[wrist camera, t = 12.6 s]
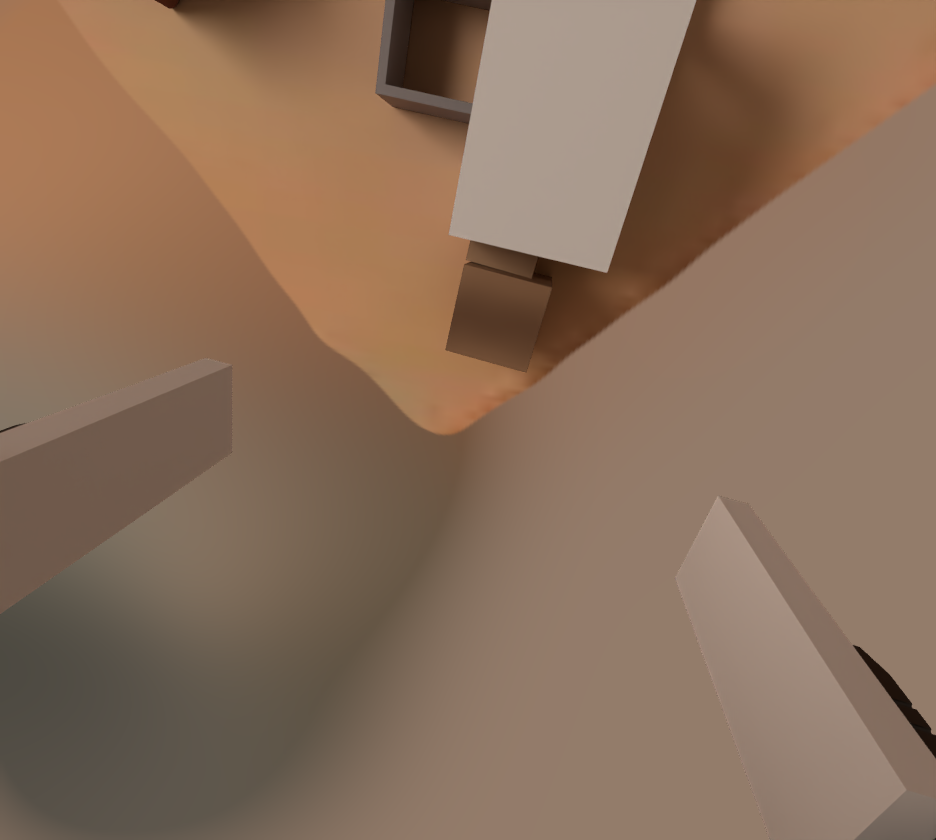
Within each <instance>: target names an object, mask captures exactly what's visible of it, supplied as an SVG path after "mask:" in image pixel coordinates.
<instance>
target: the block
mask: <svg viewBox="0 0 936 840" xmlns="http://www.w3.org/2000/svg"><path fill="white" fill-rule="evenodd" d="M551 290H552V278H551V277H547V276H544V275H540V274H536V273H534V274H533V276H532V279H530V278H527V277H523V276H520V275H516V274H513V273H509V272H506V271H502V270H499V269H495V268H492V267H488V266H485V265H481V264H478V263H474V262H469V263H467V264H464V268H463V273H462V277H461V282H460V286H459V291H458V295H457V300H456V304H455V309H454V313H453V318H452V322H451V327H450V331H449V336H448V340H447V345H446V349H445V350H447V351H450V352H454V353H458V354H461V355H465V356H468V357H472V358H476V359H479V360H483V361H486V362H490V363H493V364H497V365H501V366H504V367H508V368H511V369H515V370H519V371H522V372H527V369H528V366H529V362H530V359H531V356H532V353H533V349H534V346H535V343H536V339H537V336H538V333H539V330H540V326H541V323H542V320H543V316H544V313H545V310H546V306H547V303H548V300H549V297H550V293H551Z"/></svg>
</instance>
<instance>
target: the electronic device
mask: <svg viewBox="0 0 936 840" xmlns="http://www.w3.org/2000/svg"><path fill="white" fill-rule="evenodd" d="M155 1H157V2H159V3H161V4H163V5H164V6H166V7H167V8H174V7H175V6H176V5H177V4H178V1H179V0H155Z"/></svg>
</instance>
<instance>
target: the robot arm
mask: <svg viewBox="0 0 936 840" xmlns="http://www.w3.org/2000/svg"><path fill="white" fill-rule="evenodd" d="M231 453H232V365H231V364H227V363H223V362H219V361H216V360H212V359H208V358H204V359H201V360H199V361H196V362H193V363H190V364H188V365H185V366H182V367H180V368H177V369H174V370H171V371H169V372H166V373H163V374H160V375H158V376H155V377H152V378H149V379H147V380H144V381H141V382H138V383H136V384H133V385H130V386H128V387H125V388H122V389H119V390H117V391H114V392H111V393H108V394H105V395H103V396H100V397H97V398H95V399H92V400H89V401H86V402H84V403H81V404H78V405H75V406H73V407H70V408H67V409H64V410H62V411H59V412H56V413H53V414H51V415H48V416H45V417H43V418H40V419H37V420H35V421H32V422H29V423H24V424H19V425H15V426H12V427H10V428H7V429H4V430H1V431H0V614H1V613H2V612H3V611H5V610H6V609H8V608H9V607H11V606H12V605H14V604H15V603H16V602H18V601H19V600H21V599H22V598H24V597H25V596H27V595H28V594H29V593H31V592H32V591H34V590H35V589H37V588H38V587H40V586H41V585H42V584H44V583H45V582H47V581H48V580H50V579H51V578H52V577H54V576H55V575H57V574H58V573H60V572H61V571H63V570H64V569H65V568H67V567H68V566H70V565H71V564H73V563H74V562H75V561H77V560H78V559H80V558H81V557H83V556H84V555H85V554H87V553H88V552H90V551H91V550H93V549H94V548H95V547H97V546H98V545H100V544H101V543H102V542H104V541H106V540H107V539H109V538H110V537H111V536H113V535H114V534H116V533H117V532H119V531H120V530H122V529H123V528H124V527H126V526H127V525H129V524H130V523H132V522H133V521H135V520H136V519H137V518H139V517H140V516H141V515H143V514H144V513H146V512H147V511H149V510H150V509H152V508H153V507H154V506H156V505H158V504H159V503H160V502H162V501H163V500H165V499H166V498H168V497H169V496H171V495H172V494H173V493H175V492H176V491H178V490H179V489H181V488H182V487H183V486H185V485H186V484H188V483H189V482H190V481H192V480H194V479H195V478H196V477H198V476H199V475H201V474H202V473H203V472H205V471H206V470H208V469H209V468H211V467H212V466H214V465H215V464H217V463H218V462H219V461H221V460H222V459H224V458H225V457H227V456H228V455H230V454H231ZM675 580H676V582H677V585H678V588H679V591H680V593H681V596H682V599H683V602H684V605H685V607H686V610H687V613H688V615H689V618H690V621H691V624H692V626H693V629H694V632H695V635H696V638H697V640H698V643H699V646H700V649H701V651H702V654H703V657H704V660H705V662H706V665H707V668H708V670H709V674H710V676H711V679H712V682H713V685H714V687H715V690H716V693H717V696H718V698H719V701H720V704H721V707H722V709H723V712H724V715H725V718H726V720H727V723H728V726H729V729H730V731H731V734H732V737H733V739H734V742H735V745H736V748H737V751H738V753H739V756H740V759H741V761H742V764H743V767H744V770H745V773H746V776H747V778H748V781H749V784H750V786H751V789H752V792H753V795H754V798H755V800H756V803H757V806H758V809H759V811H760V814H761V817H762V820H763V822H764V825H765V828H766V830H767V833H768V836H769V839H770V840H936V735H933V734H931V728H930V727H929V725H928V724H927V723H926V721H925V720H924V719H923V717H922V716H921V715H920V714H919V712H918V711H917V710H916V709H912V703H911V702H910V700H909V699H908V698H907V697H906V695H905V694H904V693H903V691H902V690H901V689H900V688H899V686H898V685H897V684H896V682H895V681H894V680H893V678H892V677H891V676H890V675H889V674H888V673H887V672H886V671H885V670H884V669H883V668H882V667H881V666H880V665H879V664H878V663H876V662H875V661H874V660H873V659H872V658H871V657H870V656H869V655H868V654H867V653H865V652H864V651H863V650H862V649H861V648H860V647H858V646H854V645H852V644H851V642H850V641H849V640H848V638H847V637H846V636H845V634H844V633H843V632H842V630H841V629H840V628H839V626H838V625H837V623H836V622H835V621H834V619H833V618H832V617H831V615H830V614H829V613H828V611H827V610H826V608H825V607H824V606H823V604H822V603H821V602H820V600H819V599H818V598H817V596H816V595H815V593H814V592H813V591H812V590H811V588H810V587H809V586H808V584H807V583H806V582H805V580H804V579H803V577H802V576H801V574H800V573H799V572H798V570H797V569H796V568H795V566H794V565H793V563H792V562H791V561H790V559H789V558H788V557H787V555H786V554H785V553H784V551H783V550H782V548H781V547H780V546H779V544H778V543H777V542H776V540H775V539H774V538H773V536H772V535H771V533H770V532H769V531H768V529H767V528H766V527H765V525H764V524H763V523H762V521H761V520H760V519H759V517H758V516H757V514H756V513H755V512H754V510H753V509H752V508H751V506H750V505H749V504H748V503H744V502H740V501H737V500H733V499H729V498H725V497H722V496H718V497H717V498H716V501H715V502H714V504H713V506H712V508H711V510H710V512H709V514H708V516H707V518H706V520H705V521H704V523H703V525H702V527H701V529H700V531H699V533H698V535H697V537H696V539H695V541H694V542H693V544H692V546H691V548H690V550H689V552H688V554H687V556H686V558H685V560H684V562H683V563H682V565H681V567H680V569H679V571H678V573H677V575H676V577H675Z"/></svg>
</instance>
